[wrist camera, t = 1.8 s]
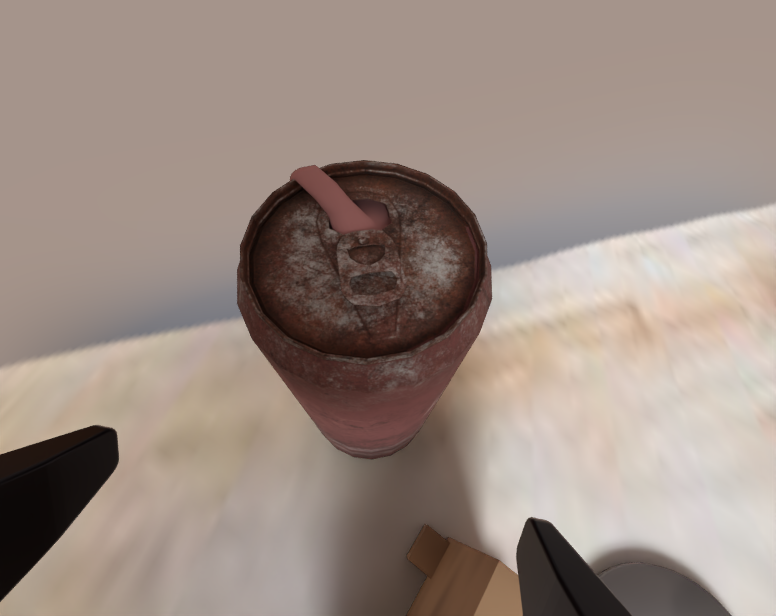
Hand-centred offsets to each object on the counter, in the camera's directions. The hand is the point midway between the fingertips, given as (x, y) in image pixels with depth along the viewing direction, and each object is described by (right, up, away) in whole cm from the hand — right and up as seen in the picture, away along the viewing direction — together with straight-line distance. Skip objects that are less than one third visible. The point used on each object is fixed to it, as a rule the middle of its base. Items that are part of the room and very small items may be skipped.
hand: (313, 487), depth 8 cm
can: (+1, -1, +13) cm, 13 cm away
